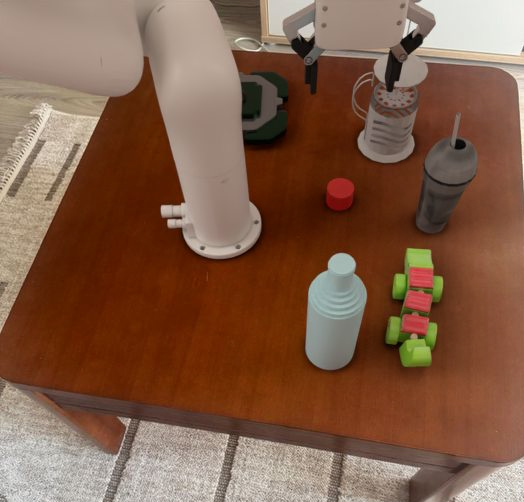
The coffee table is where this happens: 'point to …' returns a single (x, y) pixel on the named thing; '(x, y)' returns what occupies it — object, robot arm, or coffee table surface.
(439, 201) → the beverage cup
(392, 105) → the french press
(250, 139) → the four-lobed dark green device
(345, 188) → the cap
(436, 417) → the coffee table surface
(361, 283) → the bottle
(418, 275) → the toy crocodile
